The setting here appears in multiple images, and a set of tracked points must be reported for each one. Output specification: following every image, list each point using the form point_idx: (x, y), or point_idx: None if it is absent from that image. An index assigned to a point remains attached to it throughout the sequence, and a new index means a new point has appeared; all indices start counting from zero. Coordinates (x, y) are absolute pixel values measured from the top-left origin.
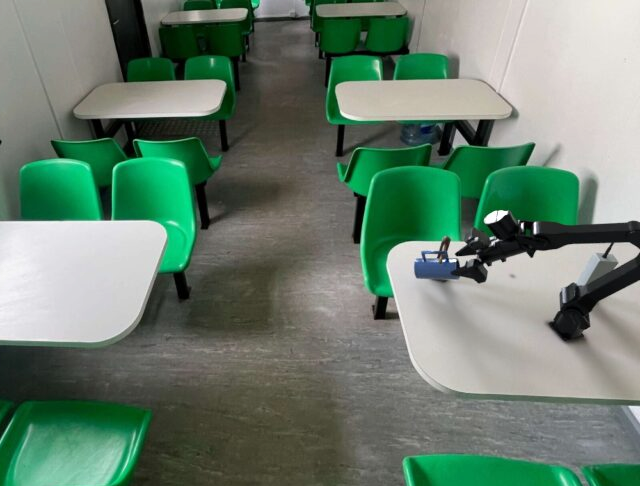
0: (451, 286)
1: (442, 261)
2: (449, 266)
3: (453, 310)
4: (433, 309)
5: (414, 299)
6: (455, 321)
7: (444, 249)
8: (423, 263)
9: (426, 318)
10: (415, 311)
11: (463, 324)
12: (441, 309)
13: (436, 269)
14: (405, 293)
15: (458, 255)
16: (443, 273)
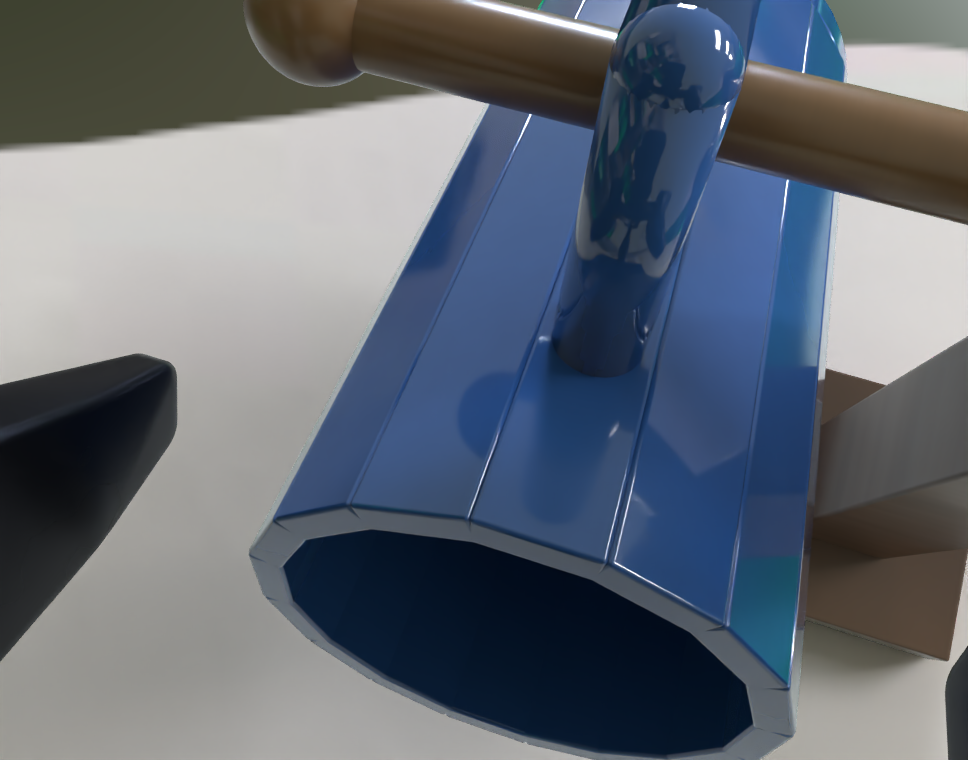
0: None
1: (275, 21)
2: (395, 375)
3: (232, 629)
4: (228, 397)
5: (357, 213)
6: (64, 621)
7: (948, 153)
8: (619, 5)
9: (95, 309)
10: (185, 210)
11: (22, 711)
12: (236, 487)
13: (443, 191)
14: (434, 130)
15: (965, 730)
16: (367, 330)
